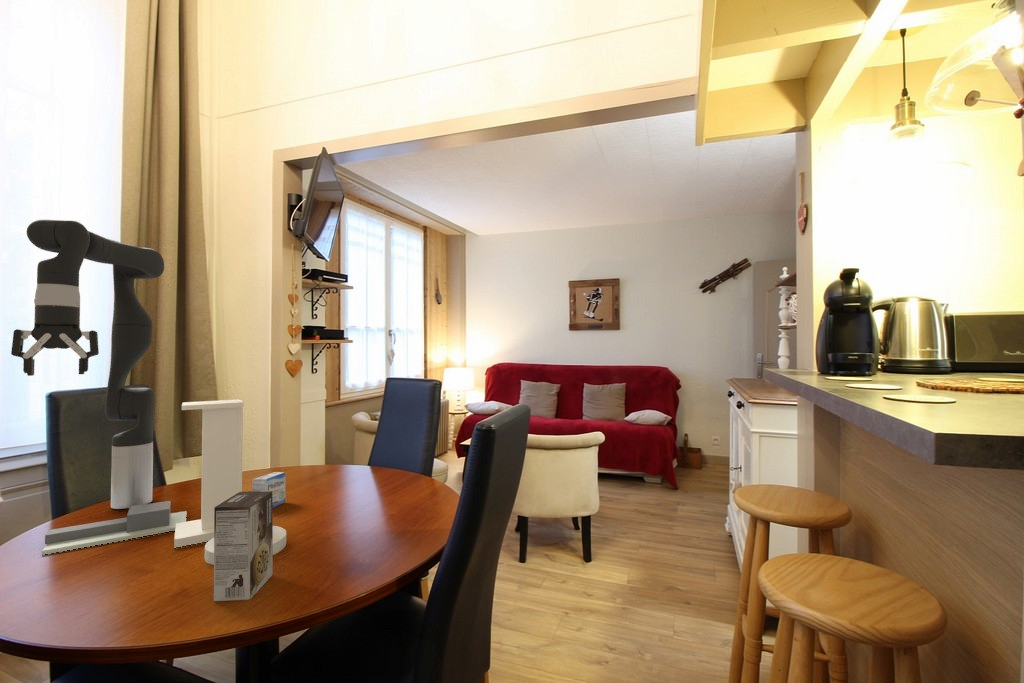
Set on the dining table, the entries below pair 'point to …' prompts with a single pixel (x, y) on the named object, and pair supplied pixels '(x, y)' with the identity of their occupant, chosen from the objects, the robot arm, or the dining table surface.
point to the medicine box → (272, 486)
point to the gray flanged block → (116, 523)
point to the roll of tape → (278, 544)
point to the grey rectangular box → (242, 545)
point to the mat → (113, 536)
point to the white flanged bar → (215, 465)
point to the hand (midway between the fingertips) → (56, 374)
